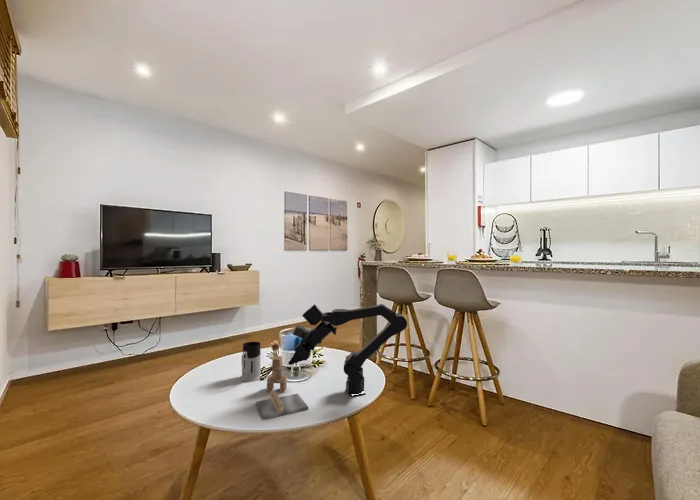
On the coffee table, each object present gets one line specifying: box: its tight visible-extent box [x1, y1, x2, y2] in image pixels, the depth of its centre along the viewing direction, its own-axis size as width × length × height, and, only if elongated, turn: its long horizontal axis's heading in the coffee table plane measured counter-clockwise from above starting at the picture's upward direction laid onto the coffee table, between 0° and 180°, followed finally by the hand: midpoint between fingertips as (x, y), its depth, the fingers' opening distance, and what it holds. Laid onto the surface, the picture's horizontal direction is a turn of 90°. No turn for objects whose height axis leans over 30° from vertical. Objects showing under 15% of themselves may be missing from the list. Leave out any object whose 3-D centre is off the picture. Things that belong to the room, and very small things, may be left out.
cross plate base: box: [255, 389, 309, 420], centre depth 119 cm, size 16×12×4 cm
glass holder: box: [240, 341, 262, 383], centre depth 143 cm, size 9×14×15 cm, turn 174°
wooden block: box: [266, 355, 288, 393], centre depth 133 cm, size 7×4×13 cm, turn 88°
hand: (291, 360), depth 133 cm, fingers open, 9 cm apart
